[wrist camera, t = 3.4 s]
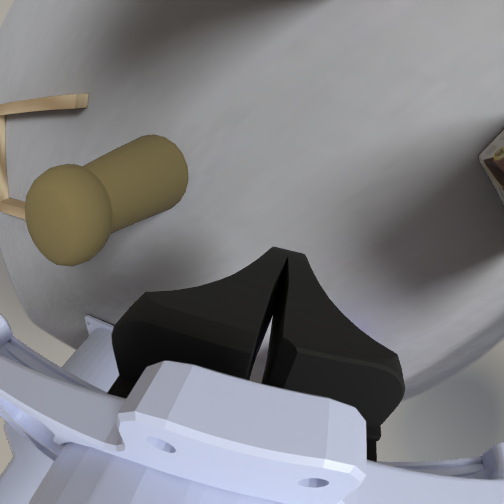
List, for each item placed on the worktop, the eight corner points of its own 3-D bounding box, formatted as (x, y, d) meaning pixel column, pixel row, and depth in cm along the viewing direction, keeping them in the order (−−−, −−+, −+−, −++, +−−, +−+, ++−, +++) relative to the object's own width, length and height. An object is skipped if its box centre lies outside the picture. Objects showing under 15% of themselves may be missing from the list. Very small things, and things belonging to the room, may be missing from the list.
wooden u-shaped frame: (87, 229, 25) (77, 236, 23) (5, 205, 26) (-4, 210, 25) (88, 93, 19) (76, 93, 18) (1, 104, 21) (-9, 106, 19)
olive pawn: (173, 224, 23) (82, 305, 13) (113, 192, 22) (11, 249, 13) (200, 153, 20) (97, 198, 10) (132, 123, 20) (14, 148, 10)
